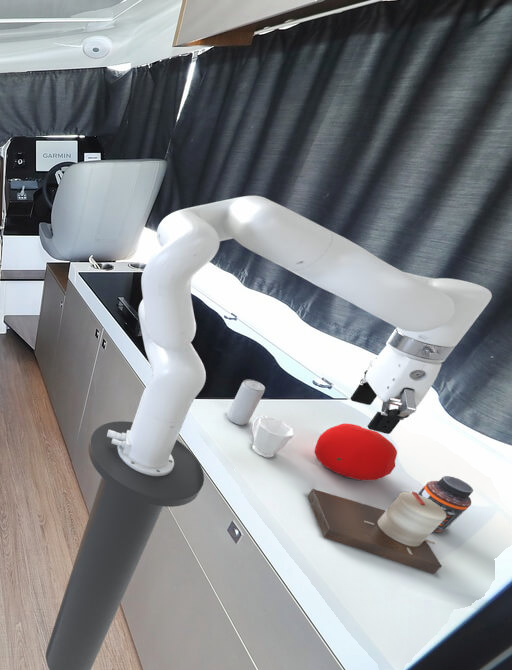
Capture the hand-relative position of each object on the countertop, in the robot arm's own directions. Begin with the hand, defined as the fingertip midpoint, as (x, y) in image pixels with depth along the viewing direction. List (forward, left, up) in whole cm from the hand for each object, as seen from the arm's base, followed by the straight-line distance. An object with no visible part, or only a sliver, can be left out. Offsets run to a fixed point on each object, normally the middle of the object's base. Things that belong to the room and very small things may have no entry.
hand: (368, 415), depth 85 cm
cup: (-10, +8, -21) cm, 25 cm away
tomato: (+7, +9, -21) cm, 24 cm away
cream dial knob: (+8, -11, -18) cm, 23 cm away
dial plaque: (+5, -10, -21) cm, 24 cm away
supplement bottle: (+17, -1, -21) cm, 27 cm away
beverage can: (-13, +18, -21) cm, 30 cm away
